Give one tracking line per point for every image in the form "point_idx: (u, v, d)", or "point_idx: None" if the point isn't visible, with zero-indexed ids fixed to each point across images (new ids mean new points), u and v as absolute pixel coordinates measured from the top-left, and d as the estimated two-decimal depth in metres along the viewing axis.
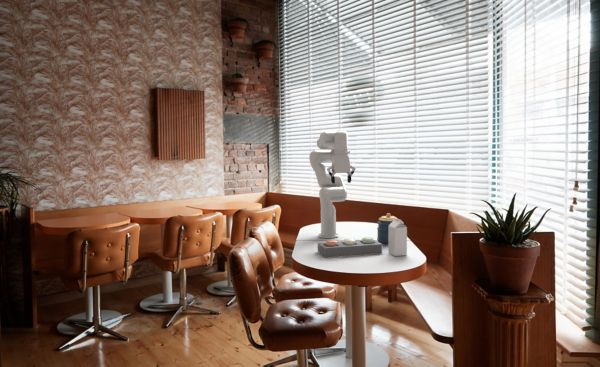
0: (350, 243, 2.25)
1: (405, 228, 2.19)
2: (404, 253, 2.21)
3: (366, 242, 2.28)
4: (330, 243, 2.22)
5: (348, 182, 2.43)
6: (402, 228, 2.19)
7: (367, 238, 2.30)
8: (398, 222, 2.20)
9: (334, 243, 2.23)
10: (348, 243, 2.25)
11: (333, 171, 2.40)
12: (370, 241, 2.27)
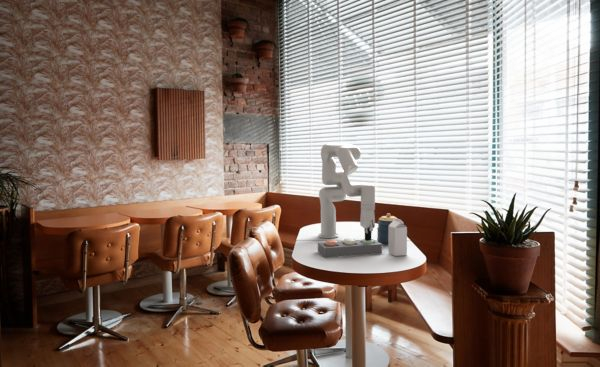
0: (350, 243, 2.25)
1: (405, 228, 2.19)
2: (404, 253, 2.21)
3: (366, 243, 2.28)
4: (330, 243, 2.22)
5: (367, 239, 2.30)
6: (402, 228, 2.19)
7: None
8: (398, 222, 2.20)
9: (334, 243, 2.23)
10: (348, 243, 2.25)
11: (368, 228, 2.27)
12: (370, 242, 2.28)
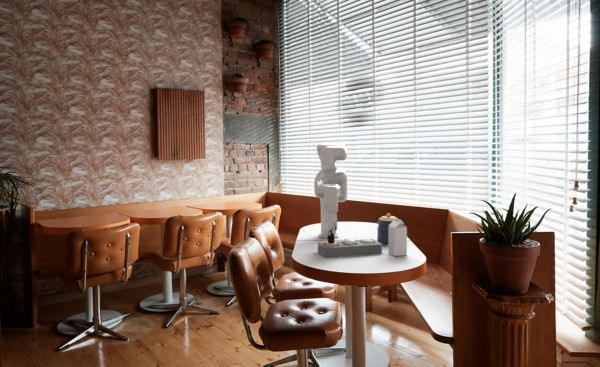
0: (350, 243, 2.25)
1: (405, 228, 2.19)
2: (404, 253, 2.21)
3: None
4: (330, 245, 2.23)
5: None
6: (402, 228, 2.19)
7: (367, 240, 2.30)
8: (398, 222, 2.20)
9: (334, 245, 2.23)
10: (348, 243, 2.25)
11: (331, 231, 2.22)
12: (370, 243, 2.28)
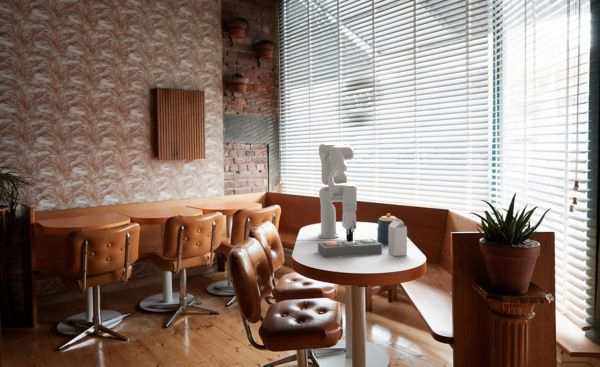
0: (350, 244, 2.25)
1: (405, 228, 2.19)
2: (404, 253, 2.21)
3: None
4: (330, 245, 2.23)
5: None
6: (402, 228, 2.19)
7: (367, 240, 2.30)
8: (398, 222, 2.20)
9: (334, 245, 2.23)
10: (348, 244, 2.25)
11: (350, 229, 2.25)
12: (370, 243, 2.28)
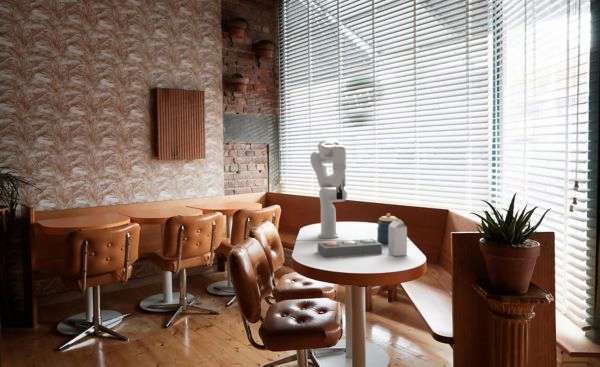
0: None
1: (405, 228, 2.19)
2: (404, 253, 2.21)
3: None
4: (330, 245, 2.23)
5: (339, 198, 2.42)
6: (402, 228, 2.19)
7: (367, 240, 2.30)
8: (398, 222, 2.20)
9: (334, 245, 2.23)
10: None
11: (340, 187, 2.39)
12: (370, 243, 2.28)
